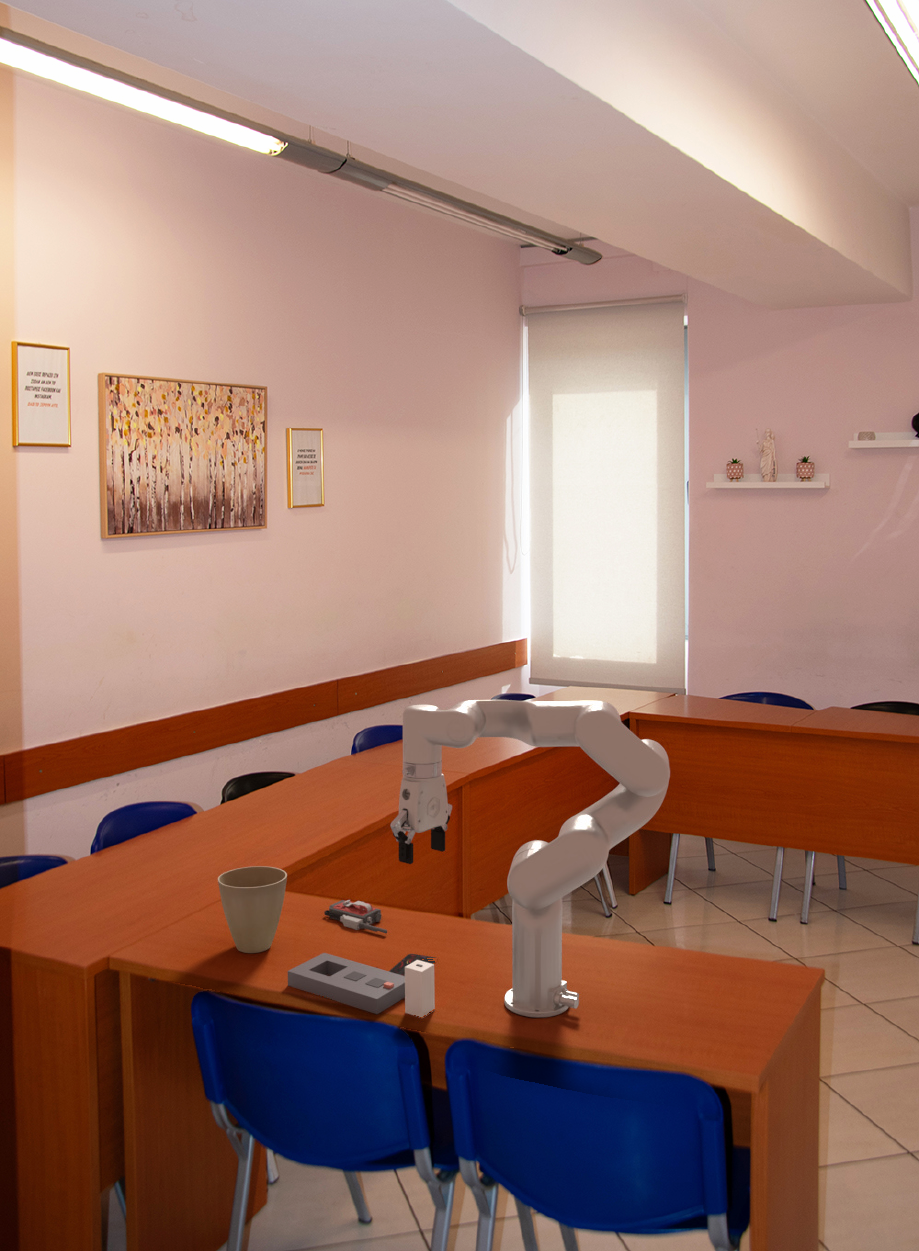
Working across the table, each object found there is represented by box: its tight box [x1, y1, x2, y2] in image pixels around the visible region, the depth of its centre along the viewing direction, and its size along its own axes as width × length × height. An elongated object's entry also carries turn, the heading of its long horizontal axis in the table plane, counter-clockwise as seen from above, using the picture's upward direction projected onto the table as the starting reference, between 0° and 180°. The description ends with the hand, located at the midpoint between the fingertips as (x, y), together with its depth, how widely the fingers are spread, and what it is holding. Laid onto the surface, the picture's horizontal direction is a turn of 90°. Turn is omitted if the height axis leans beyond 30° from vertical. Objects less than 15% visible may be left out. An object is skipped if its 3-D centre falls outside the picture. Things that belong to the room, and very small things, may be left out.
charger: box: [404, 960, 436, 1018], centre depth 199 cm, size 4×4×9 cm
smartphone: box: [388, 953, 437, 976], centre depth 218 cm, size 7×1×15 cm
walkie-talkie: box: [324, 899, 388, 934], centre depth 245 cm, size 9×4×20 cm
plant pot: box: [217, 865, 288, 954], centre depth 230 cm, size 15×15×16 cm
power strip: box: [287, 952, 405, 1015], centre depth 209 cm, size 23×11×4 cm, turn 56°
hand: (422, 856), depth 203 cm, fingers open, 9 cm apart
